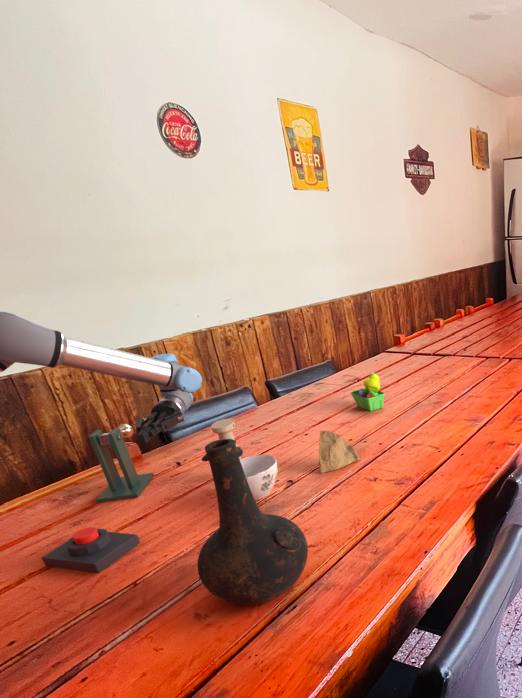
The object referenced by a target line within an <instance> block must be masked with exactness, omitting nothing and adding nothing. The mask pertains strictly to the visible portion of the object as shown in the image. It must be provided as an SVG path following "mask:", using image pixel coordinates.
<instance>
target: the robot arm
mask: <svg viewBox="0 0 522 698" xmlns="http://www.w3.org/2000/svg"><path fill="white" fill-rule="evenodd" d="M17 363H18V364H24V365H25V364H27V365H36V366H41V367H47V368H53V369H56V368H57V367H60V366H61V367H66V368H70V369H71V368H72V369H77V370H82V371H86V372H91V373H96V374H100V375H106V376H110V377H116V378H120V379H126V380H131V381H135V382H140V383H145V384H149V385H155V386H158V389H159V393H160V396H161V399H160V400H159V401H158V402H157V403H155V405H154V406H152V408H151V411H150V414H149V415H146V417H140V416H139V417H136V426H135V429H136V432H137V435H136V436H137V439H138V441H139V445H147V444H148V443H149V442H150V440H151V439H152V438H153V437H156V435H158V434H160V433H162V434H163V433H167V432H168V431H169V430H171V429H173V428H174V427H176V426H177V425H178V424H180V423H182V422H184V421H185V418H184V416H183V415H184V414H185V413H186V412H187V410H188V409H190V408H191V406H192V403H193V401H194V396H193V394H192V393H194V392H198V391H199V390H200V388H201V387H202V384H203V378H202V375H201V374H200V372H199V371H198V370H196V369H194V368H193V367H190V366H185V365H182V364H180V363H179V361H178V359H177V356H176V355H175V354H174V353H160V354H156V355H153V356H151V357H148V356H144V355H140V354H136V353H132V352H128V351H124V350H120V349H116V348H112V347H108V346H104V345H100V344H95V343H92V342H87V341H83V340H79V339H76V338H72V337H67V336H66V335H64V334H63V332H62V331H59V330H54V329H52V328H47V327H45V326H42V325H39V324H37V323H34V322H32V321H30V320H28V319H25V318H23V317H20V316H19V315H16V314H13V313H10V312H8V311H0V373H3V372H5V371H6V370H8V368H10V367H11V366H13V365H14V364H17Z"/></svg>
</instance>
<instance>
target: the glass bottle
mask: <svg viewBox="0 0 522 698" xmlns="http://www.w3.org/2000/svg"><path fill="white" fill-rule="evenodd" d="M236 444H237V440H236V439H235V440H233V439H222V440H220V439H218V440H213V441H211V442H209V443H208V444H206V445H205V446H204V451H205V455H203V456H202V458H201V461H202V462H208V463H209V468H210V471H211V474H212V478H213V479H212V480H213V484H214V488H215V493H216V499H217V500H216V501H217V506H218V514H219V515H218V517H219V526H218V529H217V530H215V531H214V532H213V533H212V534H211V535H210V536H208V538H207V539H206V540H205V542H204V543H203V545H202V546H201V548H200V551H199V554H198V558H197V573H198V577H199V579H200V581H201V583H202V585H203V587H204V588H205V589H206V591H208V592H209V593H210V594H211V595H213V596H214V597H215V598H217V599H219V600H221V601H223V602H225V603H228V604H231V605H237V606H255V605H260V604H264V603H267V602H270V601H272V600H274V599H276V598H278V597H281V596H282V595H283V594H285V593H286V592H287V591H289V590H290V589H291V588H292V587H293V586H294V585H295V584H296V583H297V581H298V580H299V579H300V577H301V575H302V573H303V571H304V569H305V568H306V564H307V562H308V561H307V559H308V555H309V554H308V552H309V550H308V549H309V546H308V541H307V538H306V536H305V533H304V532H303V530H302V529H301V527H299V526H298V524H296V523H295V522H294V521H292V520H290V518H286V517H284V516H281V515H276V514H270V513H263V512H262V511H261V509H260V508H259V505H258V504H257V502H256V501H257V500H255V499H254V497H253V494H252V492H251V490H250V487H249V484H248V482H247V479H246V476H245V474H244V471H243V468H242V465H241V462H240V459H239V457H240V456H241V457H242V456H243V454H244V450H243V449H242V448H241V447H239V446H237V447H236Z"/></svg>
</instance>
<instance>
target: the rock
mask: <svg viewBox="0 0 522 698" xmlns="http://www.w3.org/2000/svg"><path fill="white" fill-rule="evenodd" d="M318 444H319V445H318V448H319V452H318V453H319V454H318V455H319V456H318V463H319V464H318V465H319V472H320V474H321V475H323V474H324V473H327V472H333V471H336V470H339V469H341V468H344V467H346V466H349V465H351V464H352V463H355V462H358V461H360V460H361V458H360V456H359V454H358V452H357V451H356V449H355V448H354V446H353V445H352V444H350V443H349V442H348V441H347V440H346V439H344V437H342V436H341V435H339V434H338V433H335V432H332V431H330V430H320V432H319V443H318Z"/></svg>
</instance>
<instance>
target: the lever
mask: <svg viewBox="0 0 522 698" xmlns="http://www.w3.org/2000/svg"><path fill="white" fill-rule="evenodd" d="M116 428H119V429H120V431H121V434H122V436H123V439H127V438H130V437H131V436H133V434H134V432H135V431H134V428H133V426H132V425H130V424H128V423H122V424H119V425H118V426H117V427H116ZM109 433H110V432H106V433H105V432H102V434H101V435H98V439H99V442H100V445H107V446H108V445H111V442H110V440H109V437H108V435H107V434H109Z"/></svg>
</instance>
